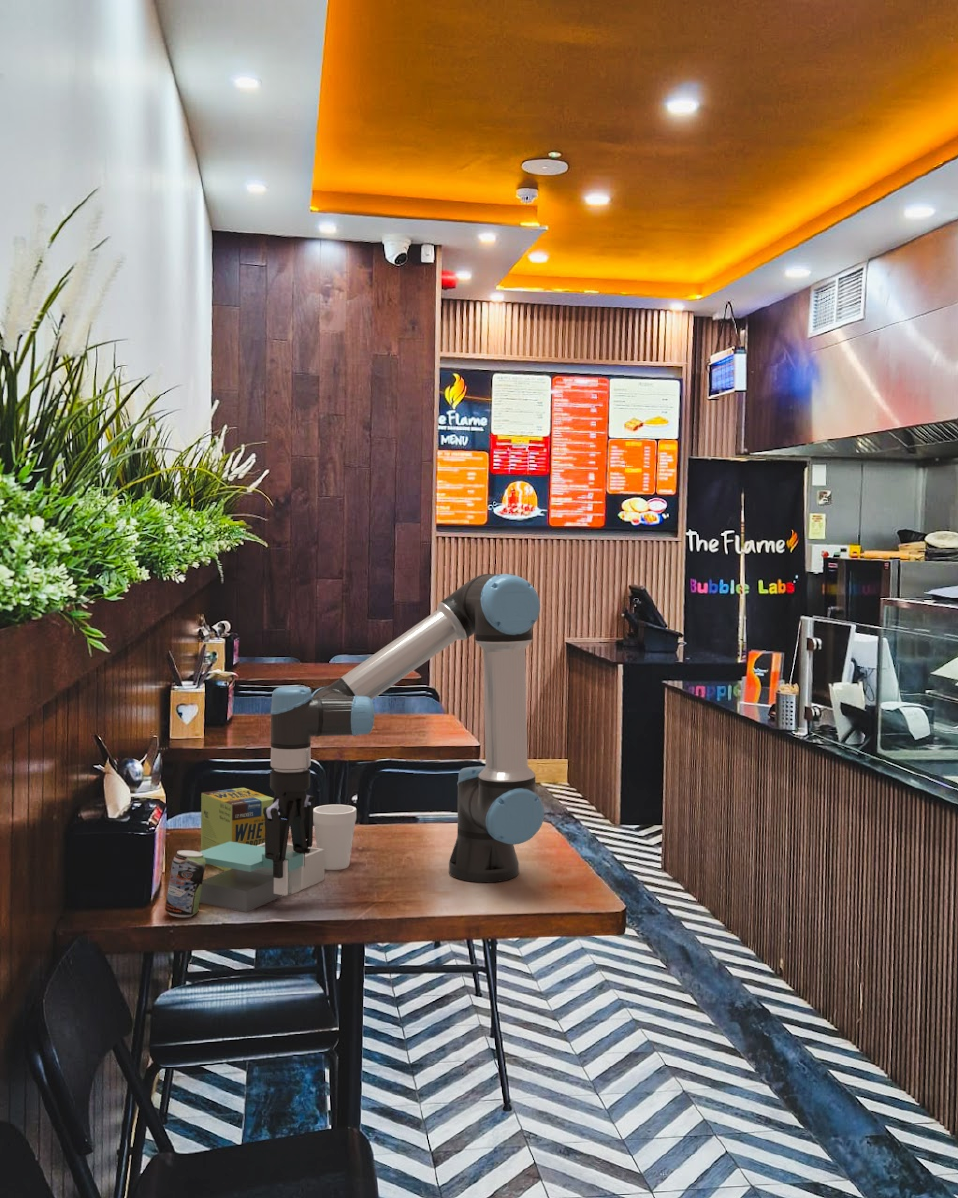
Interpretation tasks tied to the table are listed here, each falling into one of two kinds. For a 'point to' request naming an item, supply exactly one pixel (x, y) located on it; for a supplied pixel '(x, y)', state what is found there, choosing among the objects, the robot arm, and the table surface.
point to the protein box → (233, 817)
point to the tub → (311, 868)
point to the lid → (246, 857)
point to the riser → (238, 890)
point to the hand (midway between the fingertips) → (288, 890)
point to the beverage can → (185, 883)
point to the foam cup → (335, 834)
